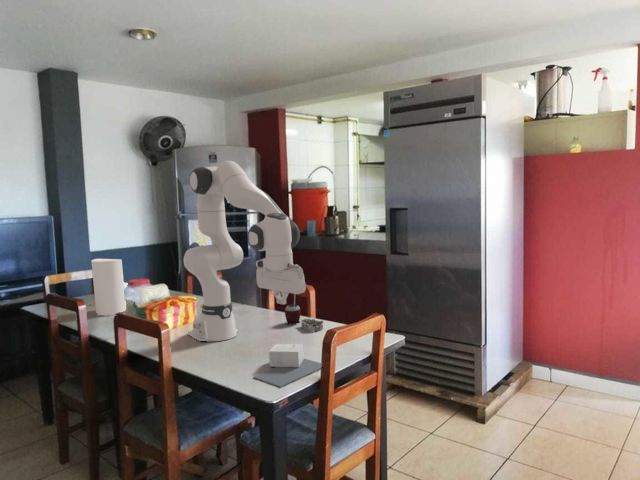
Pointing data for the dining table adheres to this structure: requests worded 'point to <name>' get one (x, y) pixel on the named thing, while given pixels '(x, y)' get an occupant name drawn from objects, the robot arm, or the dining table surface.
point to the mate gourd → (292, 313)
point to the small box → (286, 355)
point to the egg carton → (309, 325)
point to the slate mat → (288, 373)
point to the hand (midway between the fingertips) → (281, 303)
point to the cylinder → (108, 285)
